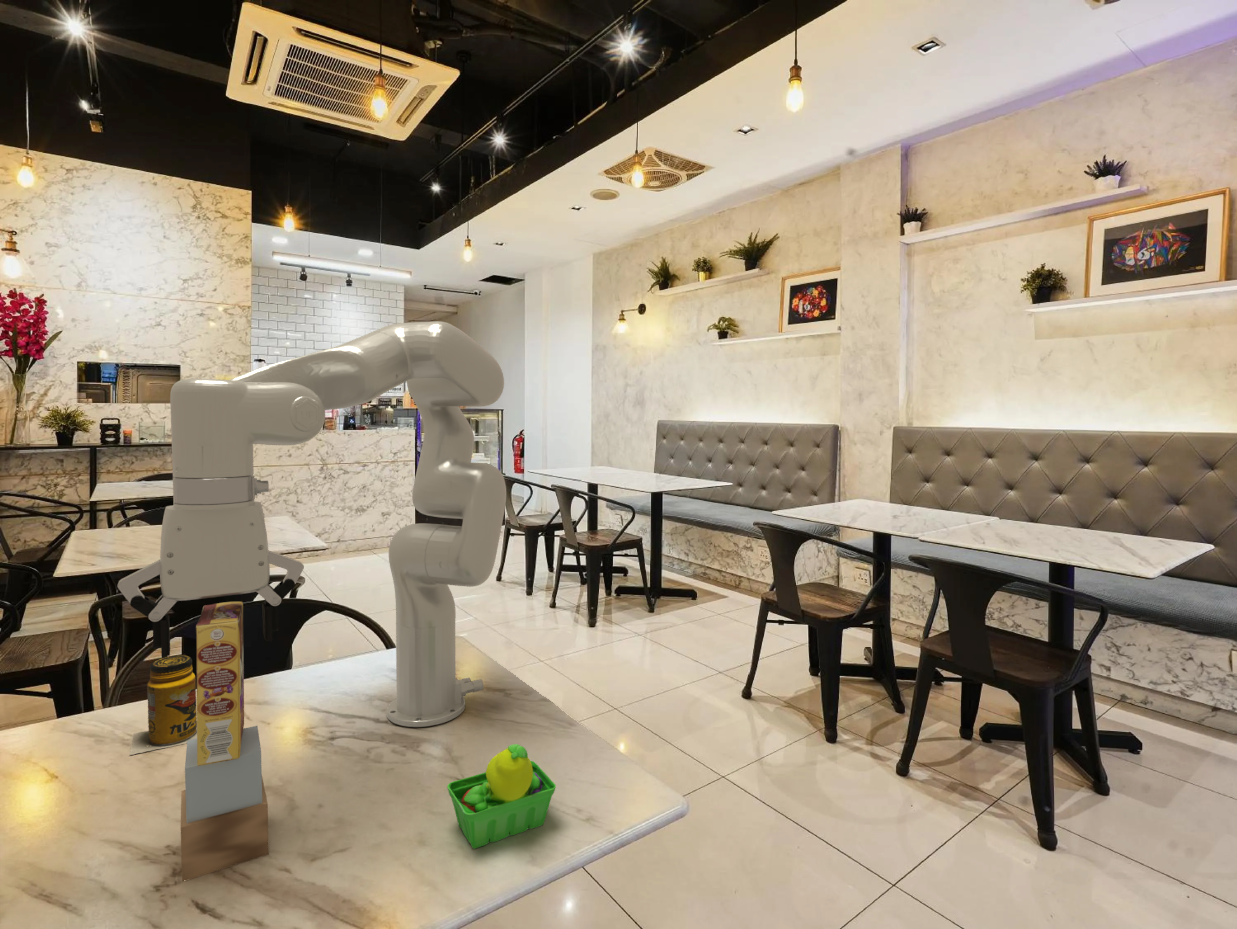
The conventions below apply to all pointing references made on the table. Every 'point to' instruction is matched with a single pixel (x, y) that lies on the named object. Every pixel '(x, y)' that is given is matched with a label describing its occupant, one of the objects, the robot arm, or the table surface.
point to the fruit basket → (502, 798)
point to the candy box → (220, 682)
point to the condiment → (169, 705)
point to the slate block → (224, 780)
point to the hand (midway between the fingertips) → (218, 645)
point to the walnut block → (223, 838)
